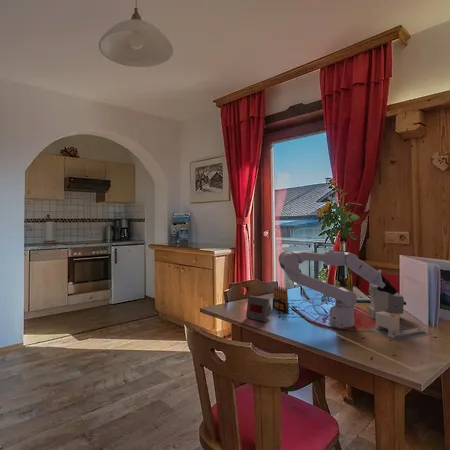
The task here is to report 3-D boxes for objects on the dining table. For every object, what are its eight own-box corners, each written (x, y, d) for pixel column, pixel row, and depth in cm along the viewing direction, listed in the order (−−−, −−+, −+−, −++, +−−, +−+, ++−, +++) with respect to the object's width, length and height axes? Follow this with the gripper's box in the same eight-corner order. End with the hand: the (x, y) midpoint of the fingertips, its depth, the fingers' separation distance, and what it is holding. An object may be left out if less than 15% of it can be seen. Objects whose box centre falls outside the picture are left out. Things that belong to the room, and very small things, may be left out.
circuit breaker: (407, 322, 143) (407, 288, 143) (372, 320, 146) (372, 286, 146) (401, 317, 150) (402, 284, 150) (368, 315, 153) (368, 283, 153)
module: (391, 334, 126) (391, 316, 126) (375, 328, 133) (375, 311, 133) (399, 332, 128) (399, 315, 128) (383, 326, 135) (383, 310, 135)
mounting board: (398, 343, 119) (398, 341, 119) (367, 331, 132) (367, 329, 132) (431, 336, 126) (431, 334, 126) (399, 325, 139) (399, 323, 139)
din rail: (393, 338, 122) (393, 335, 122) (387, 336, 124) (387, 333, 124) (424, 332, 129) (424, 329, 128) (418, 330, 131) (418, 327, 131)
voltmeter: (246, 322, 142) (246, 299, 142) (245, 315, 153) (245, 293, 153) (308, 323, 142) (308, 300, 141) (302, 315, 153) (302, 294, 153)
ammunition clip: (272, 308, 165) (272, 284, 165) (275, 307, 166) (275, 284, 166) (285, 313, 156) (285, 288, 155) (288, 313, 156) (289, 288, 156)
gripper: (378, 270, 130) (405, 289, 131) (366, 257, 144) (391, 274, 145) (366, 284, 132) (393, 302, 133) (355, 270, 146) (380, 286, 147)
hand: (391, 288), depth 139 cm, fingers open, 7 cm apart
